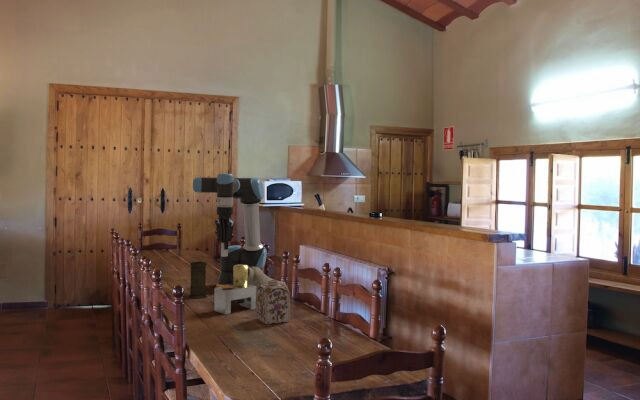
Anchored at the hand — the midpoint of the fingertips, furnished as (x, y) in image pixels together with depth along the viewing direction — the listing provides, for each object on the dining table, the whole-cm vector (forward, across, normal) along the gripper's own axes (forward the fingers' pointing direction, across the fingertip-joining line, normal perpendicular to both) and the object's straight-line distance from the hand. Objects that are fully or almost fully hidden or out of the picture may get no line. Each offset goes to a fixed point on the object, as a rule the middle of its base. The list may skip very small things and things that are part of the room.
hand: (224, 256), depth 261 cm
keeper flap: (+15, 0, 0) cm, 15 cm away
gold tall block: (+23, 0, +9) cm, 25 cm away
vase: (+27, -7, +30) cm, 40 cm away
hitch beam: (+26, 0, +6) cm, 27 cm away
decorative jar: (+27, +27, +7) cm, 39 cm away
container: (+27, -36, +8) cm, 45 cm away
